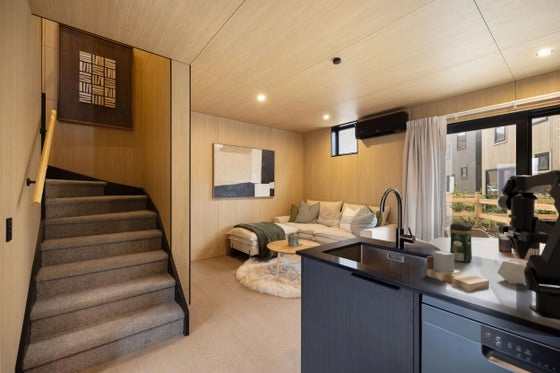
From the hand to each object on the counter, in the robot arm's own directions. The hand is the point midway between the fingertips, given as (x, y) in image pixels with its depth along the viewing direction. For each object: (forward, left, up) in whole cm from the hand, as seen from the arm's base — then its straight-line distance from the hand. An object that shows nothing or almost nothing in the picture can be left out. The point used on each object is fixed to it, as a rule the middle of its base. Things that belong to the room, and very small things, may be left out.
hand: (521, 258), depth 86 cm
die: (+12, -3, -12) cm, 17 cm away
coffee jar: (+39, +6, -12) cm, 41 cm away
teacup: (+23, -11, -12) cm, 28 cm away
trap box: (+6, +17, -12) cm, 22 cm away
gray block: (+10, +20, -10) cm, 25 cm away
